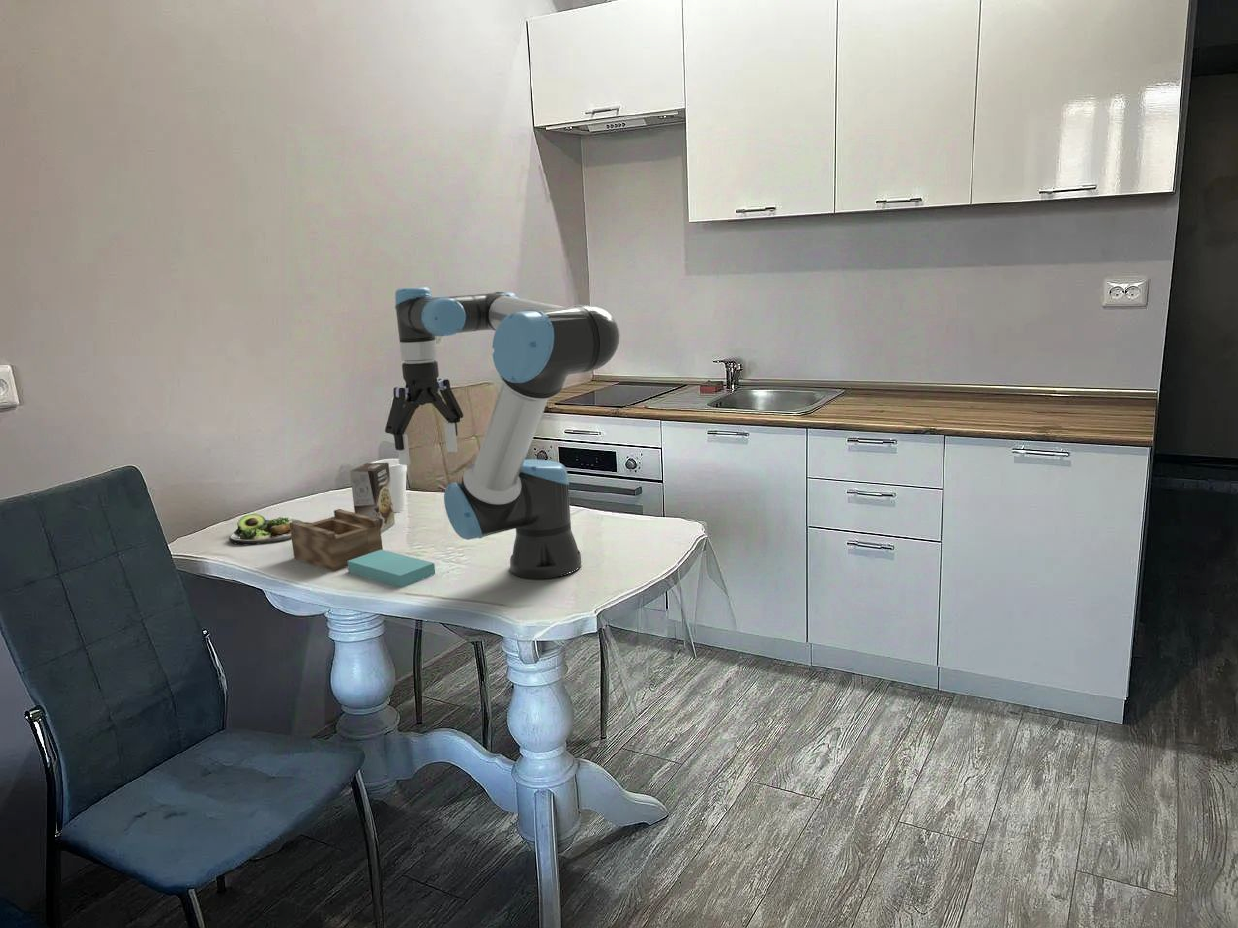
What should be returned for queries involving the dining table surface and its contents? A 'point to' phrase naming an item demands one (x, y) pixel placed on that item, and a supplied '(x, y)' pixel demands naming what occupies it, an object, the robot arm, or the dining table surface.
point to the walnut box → (336, 539)
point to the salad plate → (261, 529)
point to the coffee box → (373, 493)
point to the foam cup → (397, 483)
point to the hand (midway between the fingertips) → (429, 458)
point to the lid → (391, 568)
